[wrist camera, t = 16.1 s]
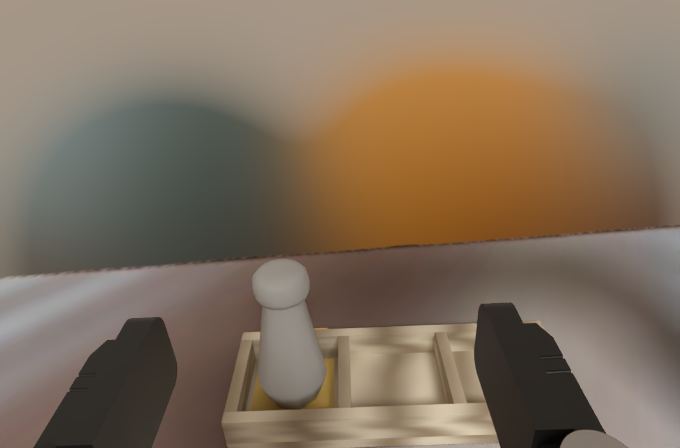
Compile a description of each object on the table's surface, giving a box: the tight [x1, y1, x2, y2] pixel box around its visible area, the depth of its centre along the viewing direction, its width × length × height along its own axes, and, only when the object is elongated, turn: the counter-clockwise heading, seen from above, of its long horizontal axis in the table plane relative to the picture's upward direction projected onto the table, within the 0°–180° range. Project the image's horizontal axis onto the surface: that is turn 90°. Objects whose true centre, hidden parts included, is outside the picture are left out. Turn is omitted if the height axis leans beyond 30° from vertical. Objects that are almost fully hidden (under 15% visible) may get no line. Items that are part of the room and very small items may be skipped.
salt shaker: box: [252, 259, 326, 410], centre depth 38 cm, size 6×6×13 cm
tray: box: [221, 321, 545, 448], centre depth 41 cm, size 28×10×4 cm, turn 90°
